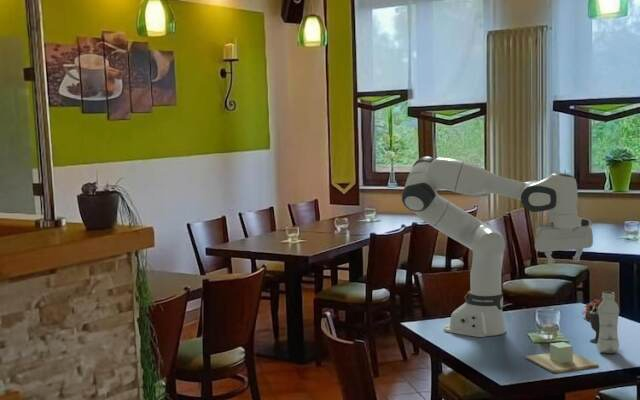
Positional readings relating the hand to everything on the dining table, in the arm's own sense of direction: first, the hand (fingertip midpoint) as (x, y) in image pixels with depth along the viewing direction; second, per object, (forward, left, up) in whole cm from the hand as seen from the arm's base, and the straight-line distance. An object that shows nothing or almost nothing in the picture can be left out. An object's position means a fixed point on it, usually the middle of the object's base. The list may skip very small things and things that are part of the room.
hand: (563, 262), depth 258 cm
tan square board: (+2, -16, -29) cm, 33 cm away
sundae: (+9, +12, -29) cm, 33 cm away
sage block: (+2, -16, -28) cm, 33 cm away
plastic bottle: (+14, 0, -29) cm, 32 cm away
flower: (+3, +43, -29) cm, 52 cm away
